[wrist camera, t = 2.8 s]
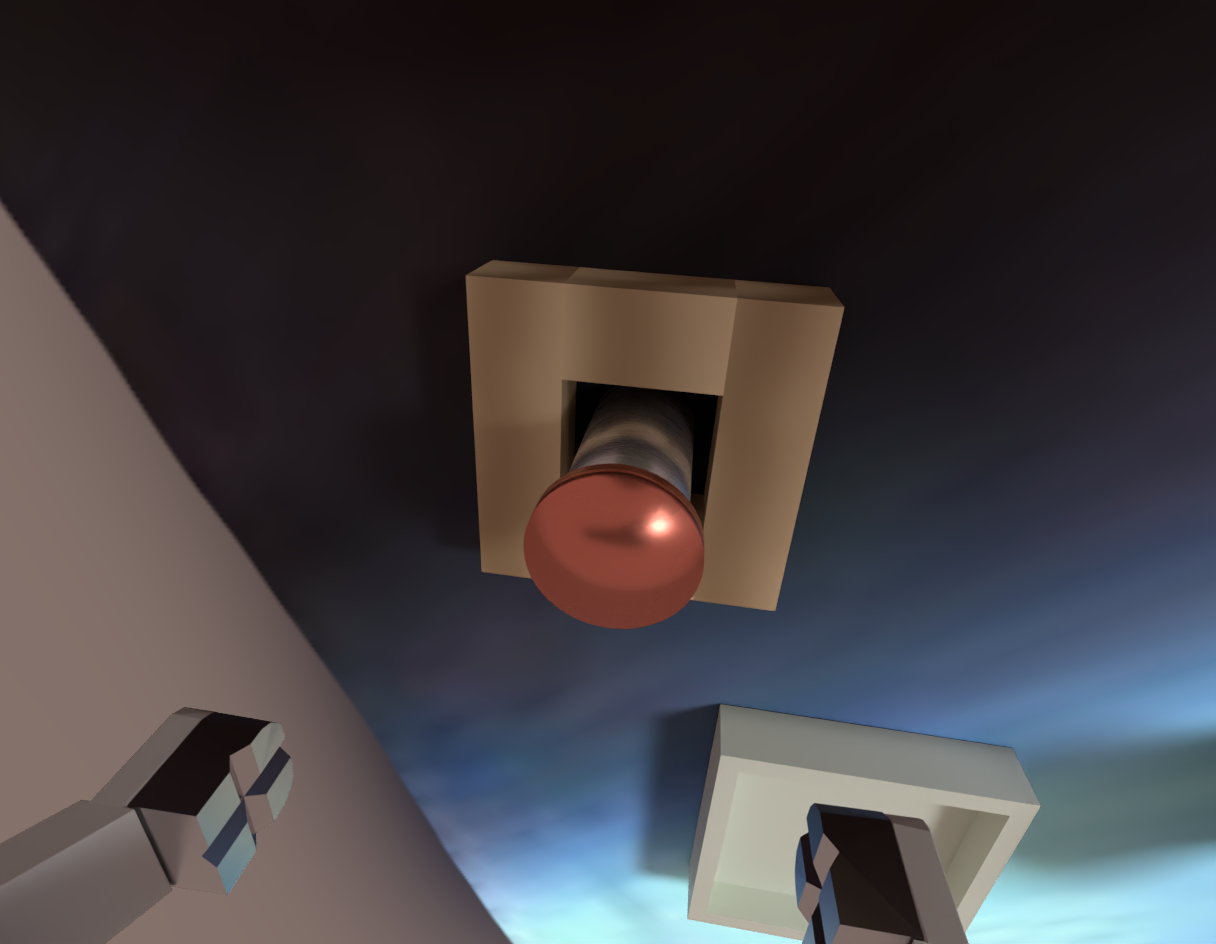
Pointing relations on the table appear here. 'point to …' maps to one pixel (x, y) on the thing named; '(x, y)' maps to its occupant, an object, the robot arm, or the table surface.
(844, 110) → the table surface
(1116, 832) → the table surface
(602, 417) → the pin
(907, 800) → the tray
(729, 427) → the block
